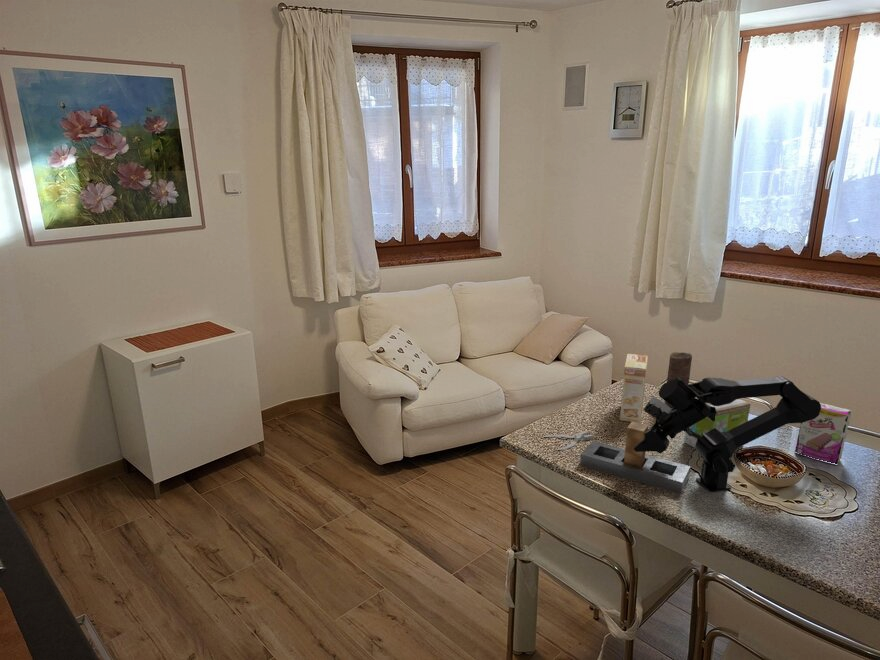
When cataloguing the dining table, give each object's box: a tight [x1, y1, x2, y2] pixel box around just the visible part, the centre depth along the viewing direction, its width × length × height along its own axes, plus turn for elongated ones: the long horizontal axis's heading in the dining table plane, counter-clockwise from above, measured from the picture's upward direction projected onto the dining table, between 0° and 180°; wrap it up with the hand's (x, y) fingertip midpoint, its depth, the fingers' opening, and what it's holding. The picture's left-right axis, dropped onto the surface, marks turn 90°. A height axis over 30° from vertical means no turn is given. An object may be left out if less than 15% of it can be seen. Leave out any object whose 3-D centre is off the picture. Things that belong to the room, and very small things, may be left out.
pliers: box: [541, 430, 594, 451], centre depth 186 cm, size 10×2×15 cm
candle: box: [663, 351, 693, 408], centre depth 207 cm, size 8×7×20 cm
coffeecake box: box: [619, 353, 649, 424], centre depth 202 cm, size 15×7×20 cm, turn 159°
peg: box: [624, 422, 649, 467], centre depth 166 cm, size 4×4×14 cm
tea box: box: [683, 397, 751, 449], centre depth 181 cm, size 15×10×15 cm, turn 114°
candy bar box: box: [794, 402, 852, 464], centre depth 172 cm, size 11×5×16 cm, turn 47°
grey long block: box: [579, 440, 691, 495], centre depth 167 cm, size 28×10×4 cm, turn 56°
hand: (639, 443), depth 164 cm, fingers open, 9 cm apart
